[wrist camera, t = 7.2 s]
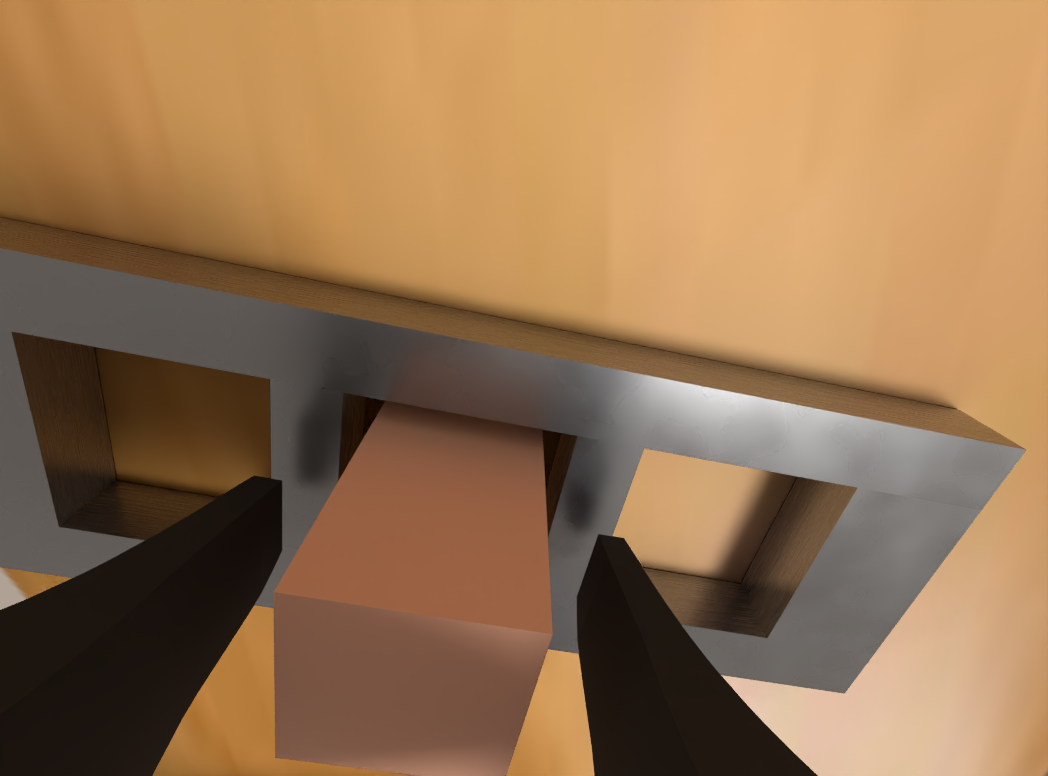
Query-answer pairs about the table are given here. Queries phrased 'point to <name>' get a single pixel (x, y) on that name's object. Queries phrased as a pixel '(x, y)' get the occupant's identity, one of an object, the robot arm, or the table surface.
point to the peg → (418, 601)
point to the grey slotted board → (495, 394)
